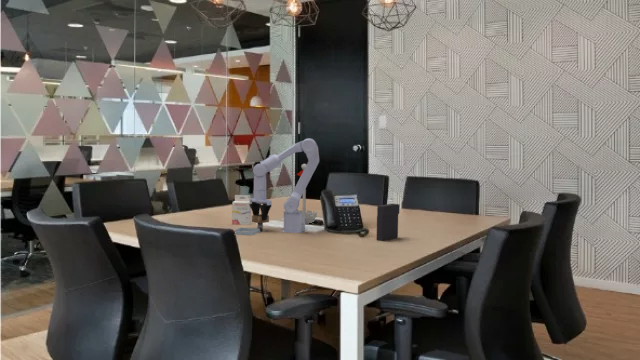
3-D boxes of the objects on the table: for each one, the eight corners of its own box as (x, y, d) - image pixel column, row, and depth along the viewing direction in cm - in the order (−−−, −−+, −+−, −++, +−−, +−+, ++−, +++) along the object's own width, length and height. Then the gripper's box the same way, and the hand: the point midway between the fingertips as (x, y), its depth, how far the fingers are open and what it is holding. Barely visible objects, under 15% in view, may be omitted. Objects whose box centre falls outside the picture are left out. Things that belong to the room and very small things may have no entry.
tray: (260, 233, 256) (260, 228, 255) (251, 236, 246) (251, 232, 246) (240, 231, 258) (240, 227, 258) (231, 235, 249) (231, 230, 249)
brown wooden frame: (259, 223, 255) (259, 216, 255) (251, 221, 259) (251, 215, 259) (271, 221, 260) (270, 215, 260) (263, 220, 264) (263, 213, 264)
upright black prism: (391, 236, 249) (391, 203, 248) (399, 238, 246) (399, 204, 245) (375, 240, 241) (375, 205, 240) (383, 241, 238) (383, 206, 237)
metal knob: (267, 230, 261) (267, 222, 261) (263, 232, 257) (263, 224, 256) (257, 230, 263) (257, 221, 262) (252, 232, 258) (252, 223, 258)
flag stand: (305, 219, 297) (305, 162, 295) (321, 222, 288) (322, 164, 285) (286, 222, 288) (286, 163, 286) (302, 225, 279) (303, 164, 276)
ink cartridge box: (231, 225, 276) (231, 195, 274) (234, 224, 280) (234, 194, 279) (248, 226, 275) (248, 196, 274) (251, 224, 280) (251, 195, 278)
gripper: (243, 189, 261) (244, 218, 262) (262, 191, 250) (262, 222, 251) (256, 188, 266) (256, 216, 267) (275, 190, 255) (275, 220, 256)
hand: (260, 219), depth 259 cm, fingers closed on brown wooden frame, 6 cm apart
